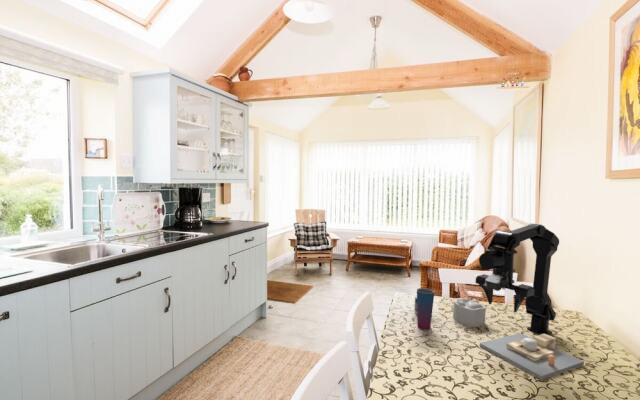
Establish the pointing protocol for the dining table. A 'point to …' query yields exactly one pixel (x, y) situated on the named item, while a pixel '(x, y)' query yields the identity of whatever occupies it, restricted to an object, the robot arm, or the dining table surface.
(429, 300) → the cup
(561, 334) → the dining table surface
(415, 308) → the pill bottle
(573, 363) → the board
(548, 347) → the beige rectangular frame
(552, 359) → the orange rounded piece
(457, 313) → the lumpy-topped squat cylinder
